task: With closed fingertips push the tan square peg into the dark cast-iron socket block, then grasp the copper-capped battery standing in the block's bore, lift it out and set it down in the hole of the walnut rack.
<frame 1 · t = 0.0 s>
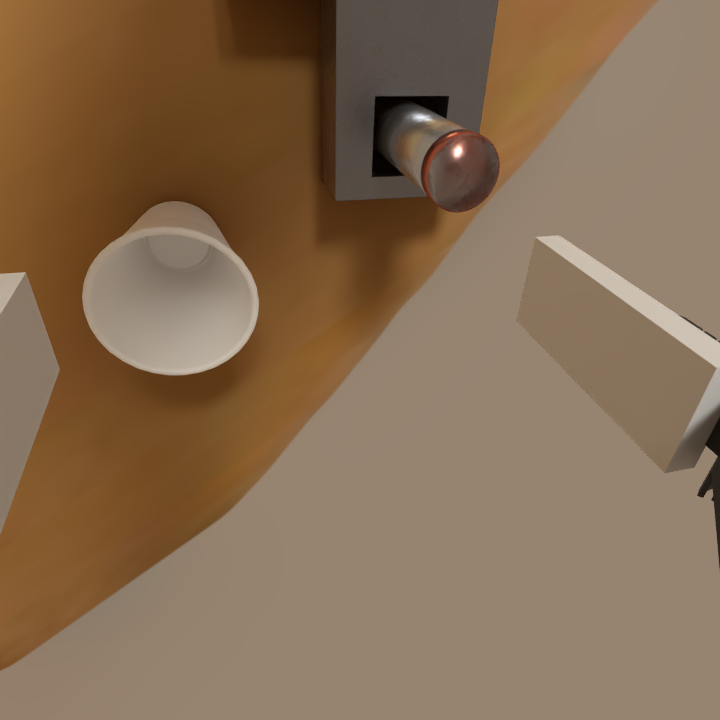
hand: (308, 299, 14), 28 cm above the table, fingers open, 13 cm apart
copper-capped battery: (387, 122, 39), resting in socket block
cup: (179, 238, 41), on the table
socket block: (390, 77, 38), on the table
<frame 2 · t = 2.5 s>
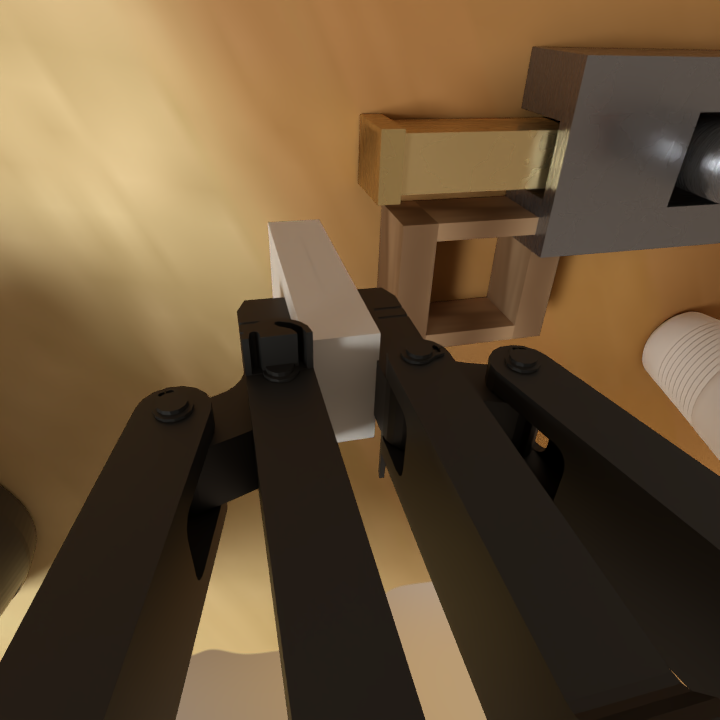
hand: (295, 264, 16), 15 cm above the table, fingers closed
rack: (452, 259, 35), on the table
copper-capped battery: (657, 140, 34), resting in socket block
cup: (670, 340, 45), on the table
tan square peg: (466, 155, 29), point 2 cm above the table, slide at 0.0 cm
socket block: (616, 142, 33), on the table
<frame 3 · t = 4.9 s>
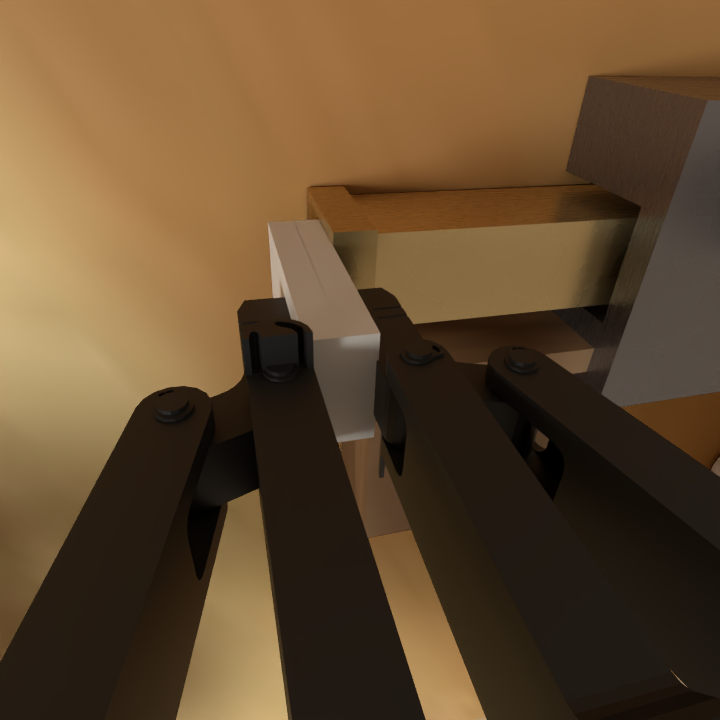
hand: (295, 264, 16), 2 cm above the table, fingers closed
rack: (454, 384, 23), on the table
tan square peg: (483, 253, 18), point 2 cm above the table, slide at 0.2 cm, touching gripper
socket block: (705, 215, 22), on the table
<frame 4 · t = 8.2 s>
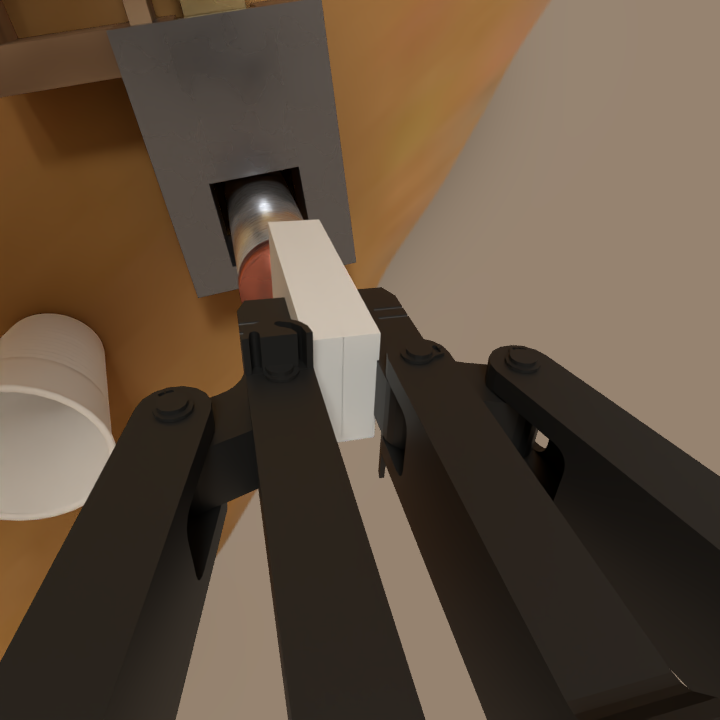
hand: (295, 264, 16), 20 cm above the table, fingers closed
copper-capped battery: (256, 191, 35), resting in socket block
cup: (57, 347, 38), on the table
socket block: (244, 143, 33), on the table
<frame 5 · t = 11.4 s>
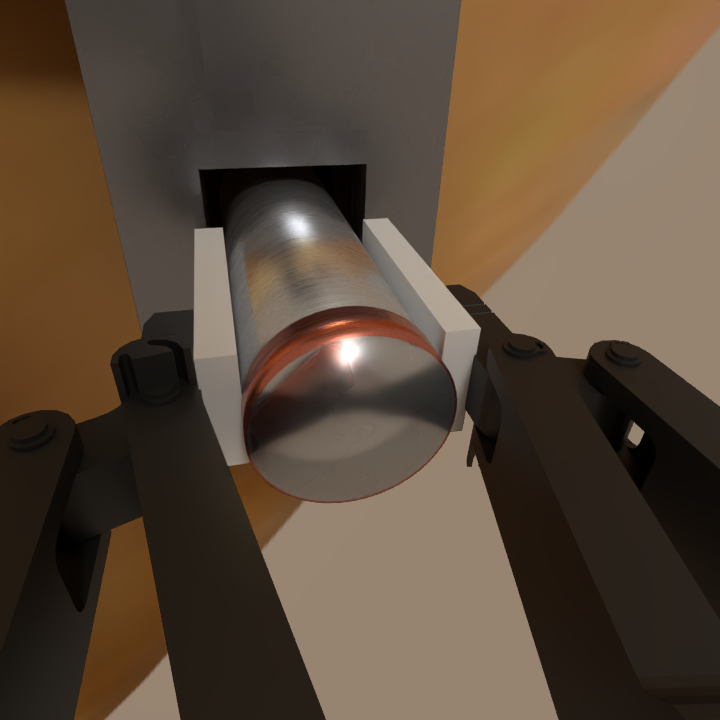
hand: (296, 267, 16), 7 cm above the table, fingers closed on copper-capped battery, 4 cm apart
copper-capped battery: (271, 198, 21), resting in socket block, touching gripper
socket block: (266, 117, 20), on the table
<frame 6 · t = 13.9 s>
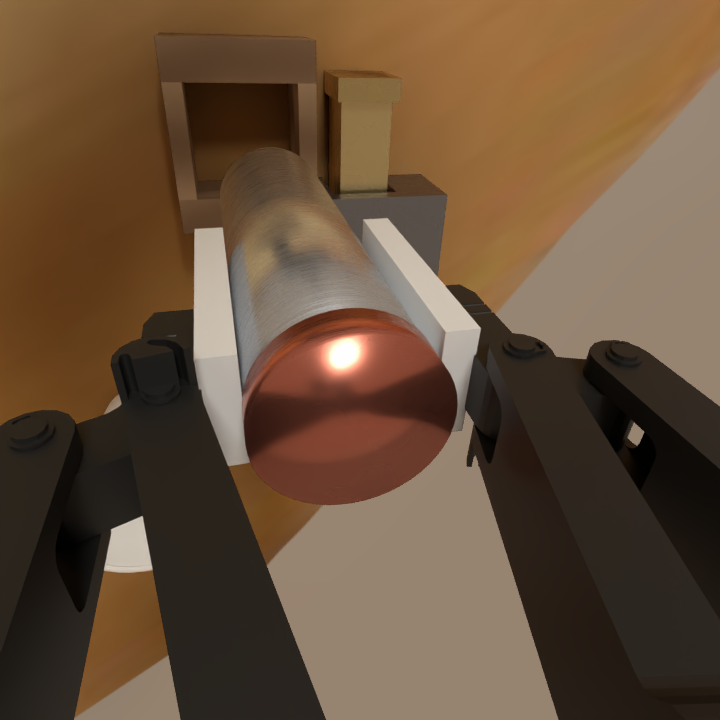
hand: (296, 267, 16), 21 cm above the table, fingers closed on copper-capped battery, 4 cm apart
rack: (241, 129, 33), on the table
copper-capped battery: (271, 199, 21), point 14 cm above the table, touching gripper
cup: (149, 412, 43), on the table
tan square peg: (358, 172, 34), point 2 cm above the table, slide at 3.2 cm
socket block: (348, 272, 40), on the table
when the fingers open (8 cm above the table, at t = 16.7 s): copper-capped battery drops 1 cm, resting in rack.
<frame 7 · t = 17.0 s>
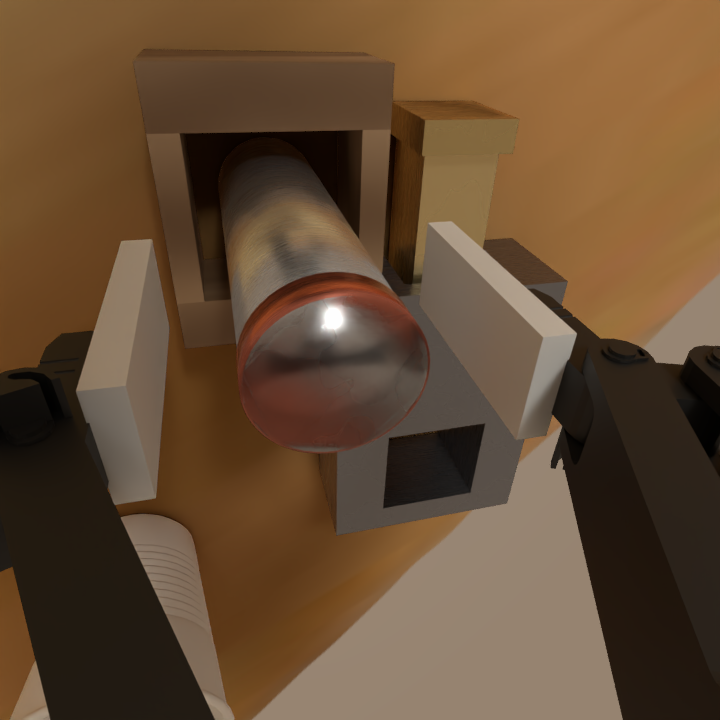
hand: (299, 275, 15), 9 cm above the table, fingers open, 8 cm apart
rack: (267, 188, 22), on the table
copper-capped battery: (267, 187, 22), resting in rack
cup: (140, 541, 32), on the table
tan square peg: (435, 245, 24), point 2 cm above the table, slide at 3.2 cm
socket block: (406, 364, 30), on the table
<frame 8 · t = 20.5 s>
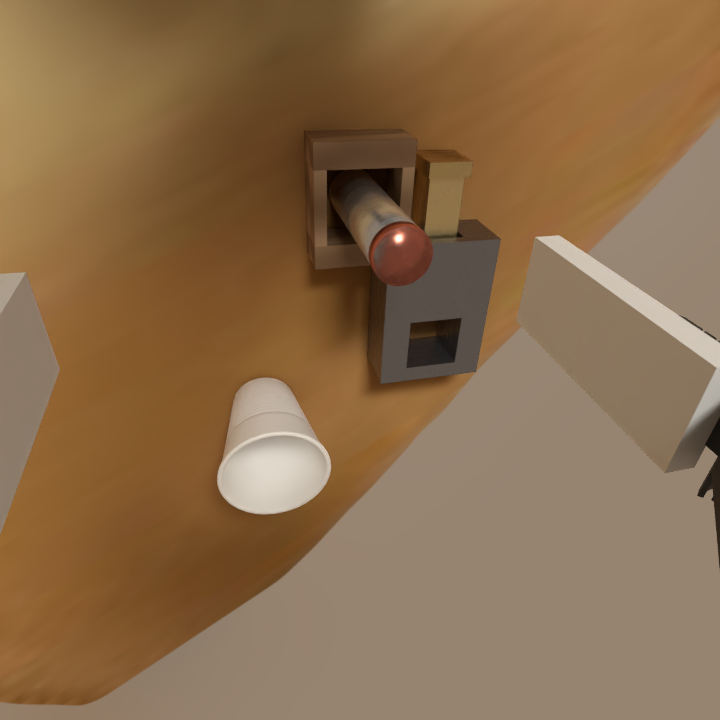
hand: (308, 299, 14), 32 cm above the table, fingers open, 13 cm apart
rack: (352, 192, 45), on the table
copper-capped battery: (352, 192, 45), resting in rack
cup: (263, 398, 55), on the table
tan square peg: (435, 221, 47), point 2 cm above the table, slide at 3.2 cm
socket block: (418, 291, 53), on the table
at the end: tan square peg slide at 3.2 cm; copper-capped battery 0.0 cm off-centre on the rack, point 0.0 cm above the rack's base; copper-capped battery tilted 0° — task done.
